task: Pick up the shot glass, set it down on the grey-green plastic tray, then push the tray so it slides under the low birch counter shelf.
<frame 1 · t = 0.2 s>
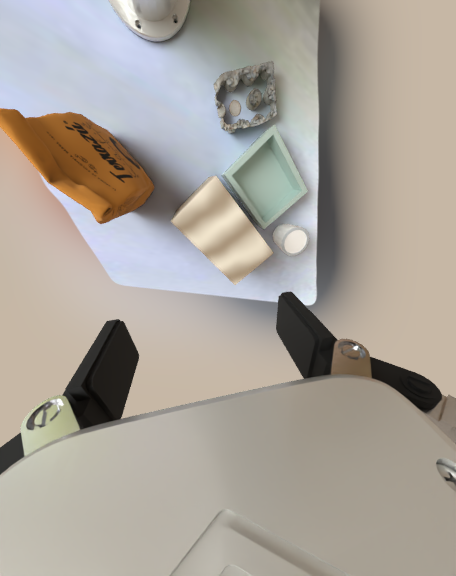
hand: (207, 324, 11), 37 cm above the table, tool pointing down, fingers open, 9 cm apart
tray: (264, 183, 40), point 2 cm above the table, slide at 11.0 cm
egg carton: (242, 104, 35), on the table
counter: (217, 224, 44), on the table
coffee package: (120, 174, 36), on the table
shot glass: (282, 234, 49), on the table
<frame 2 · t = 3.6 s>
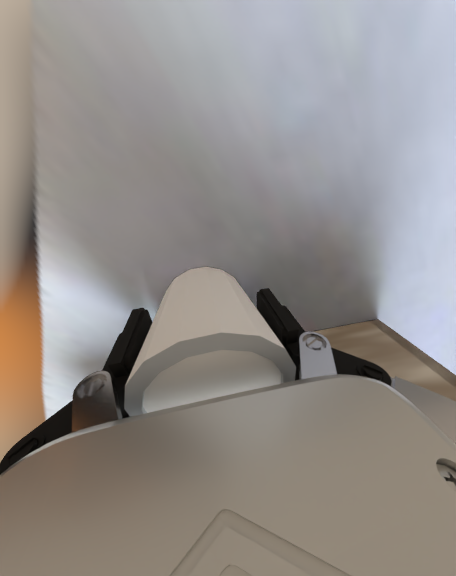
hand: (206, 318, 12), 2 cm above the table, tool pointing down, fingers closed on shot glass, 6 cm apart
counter: (315, 383, 21), on the table
shot glass: (204, 301, 13), on the table, touching gripper
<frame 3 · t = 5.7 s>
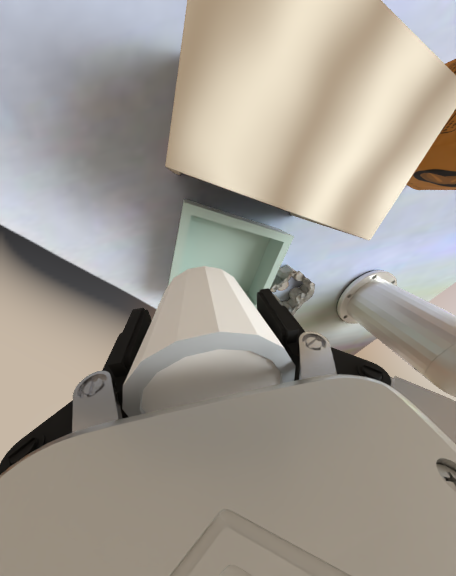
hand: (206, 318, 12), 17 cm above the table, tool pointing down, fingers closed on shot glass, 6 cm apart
tray: (225, 261, 26), point 2 cm above the table, slide at 11.0 cm
egg carton: (276, 291, 34), on the table
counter: (254, 152, 22), on the table
coffee package: (404, 143, 25), on the table
shot glass: (204, 300, 13), point 15 cm above the table, touching gripper
when the fingers open (4 cm above the table, at t = 8.1 s): shot glass drops 1 cm, resting on tray.
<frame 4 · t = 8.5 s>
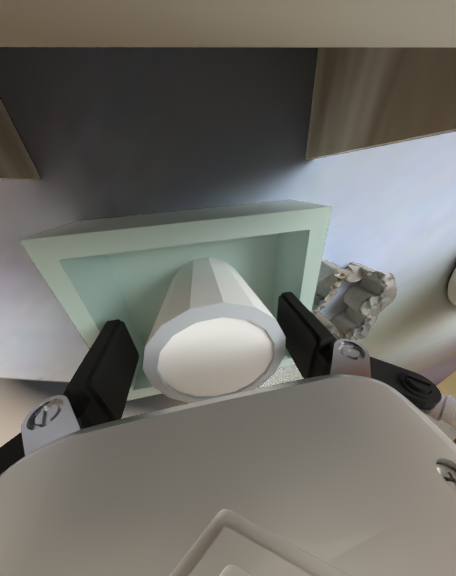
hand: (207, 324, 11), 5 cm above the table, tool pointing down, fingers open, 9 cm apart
tray: (205, 302, 13), point 2 cm above the table, slide at 11.0 cm, touching shot glass
egg carton: (317, 305, 19), on the table
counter: (163, 40, 9), on the table
shot glass: (207, 289, 15), resting on tray
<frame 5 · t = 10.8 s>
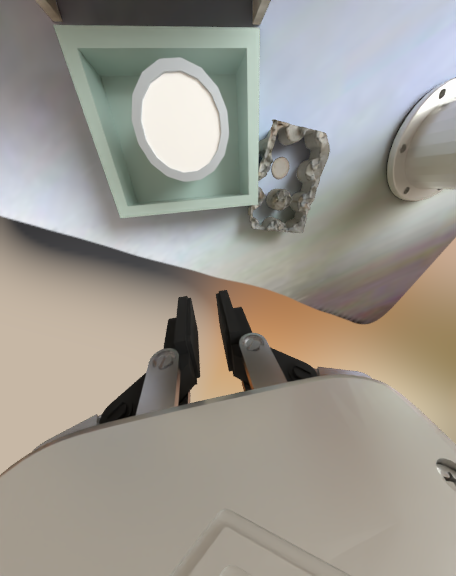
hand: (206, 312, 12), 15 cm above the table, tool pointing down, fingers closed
tray: (181, 141, 18), point 2 cm above the table, slide at 11.0 cm, touching shot glass
egg carton: (277, 184, 24), on the table
shot glass: (185, 144, 19), resting on tray
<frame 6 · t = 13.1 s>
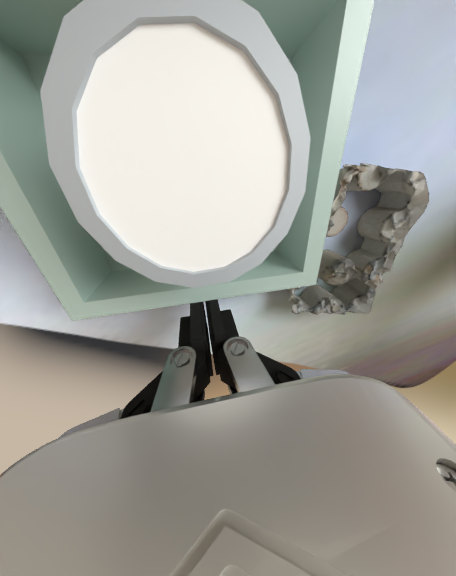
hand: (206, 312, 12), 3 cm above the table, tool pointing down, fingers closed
tray: (186, 181, 10), point 2 cm above the table, slide at 10.3 cm, touching gripper, shot glass
egg carton: (326, 241, 16), on the table
shot glass: (192, 181, 11), resting on tray
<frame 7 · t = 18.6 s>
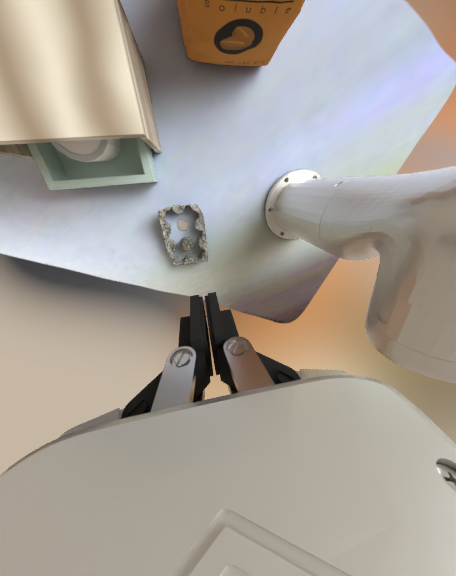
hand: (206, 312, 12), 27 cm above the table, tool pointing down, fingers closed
tray: (91, 135, 25), point 2 cm above the table, slide at 0.6 cm, touching shot glass
egg carton: (186, 233, 36), on the table
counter: (89, 112, 26), on the table
coffee package: (226, 24, 24), on the table
shot glass: (99, 138, 27), resting on tray
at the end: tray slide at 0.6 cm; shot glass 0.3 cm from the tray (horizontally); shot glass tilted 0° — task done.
